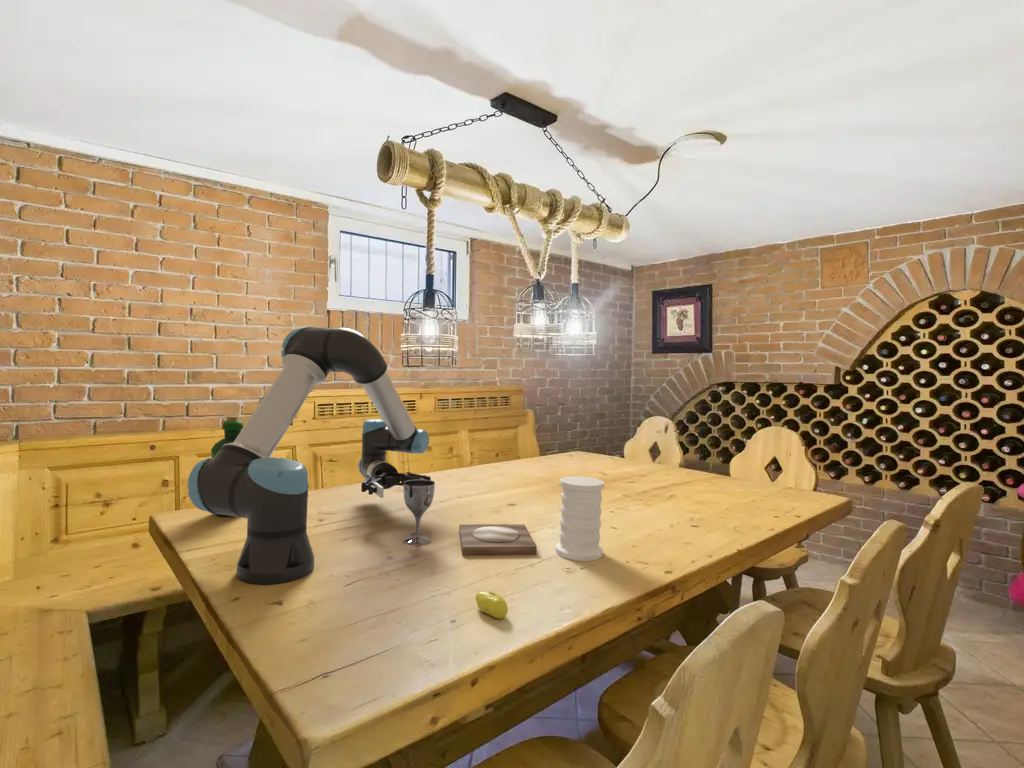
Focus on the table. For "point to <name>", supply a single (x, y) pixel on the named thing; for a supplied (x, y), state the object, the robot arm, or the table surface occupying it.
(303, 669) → the table surface
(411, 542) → the silver goblet
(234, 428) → the bottle
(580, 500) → the decorative container
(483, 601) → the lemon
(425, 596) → the table surface
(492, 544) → the dock
